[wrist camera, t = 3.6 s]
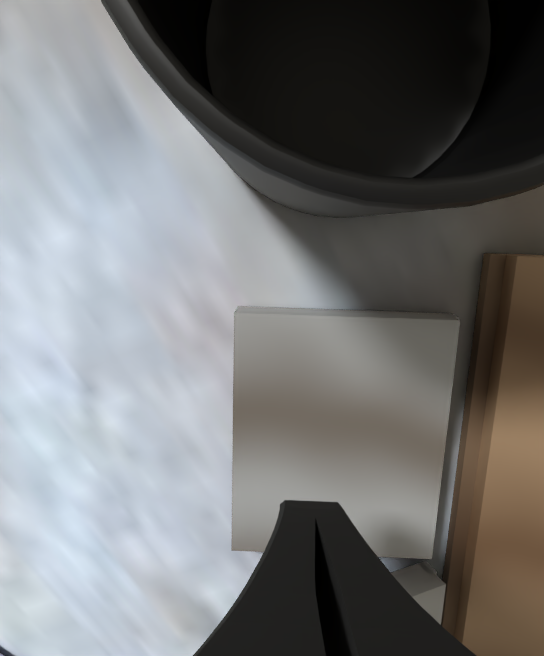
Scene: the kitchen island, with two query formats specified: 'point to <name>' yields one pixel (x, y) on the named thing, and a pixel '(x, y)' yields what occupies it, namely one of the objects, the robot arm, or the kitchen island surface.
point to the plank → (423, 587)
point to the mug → (355, 95)
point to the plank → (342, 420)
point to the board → (501, 470)
